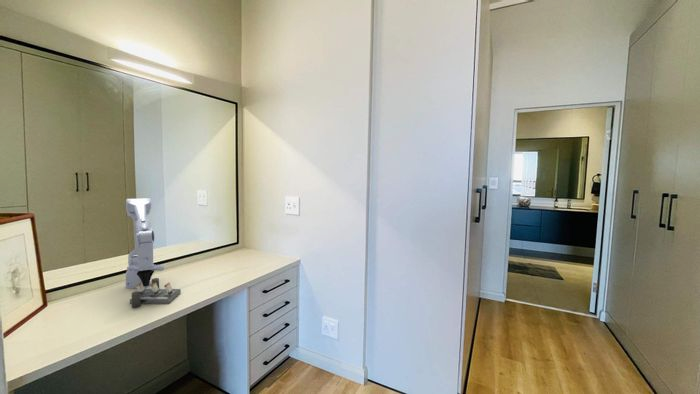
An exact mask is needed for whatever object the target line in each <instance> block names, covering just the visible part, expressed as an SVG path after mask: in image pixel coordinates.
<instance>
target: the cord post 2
mask: <svg viewBox="0 0 700 394" xmlns="http://www.w3.org/2000/svg"><path fill="white" fill-rule="evenodd" d="M151 281H152V284H153V283H155V282H156V284H157V286H158V288H159V289H160V278H159V277H156V278H151Z"/></svg>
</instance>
